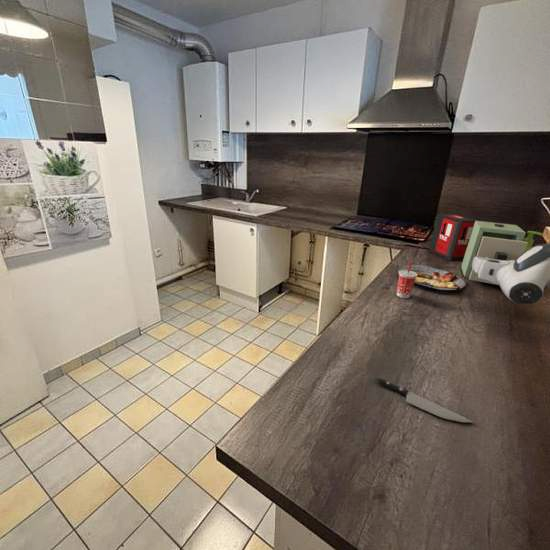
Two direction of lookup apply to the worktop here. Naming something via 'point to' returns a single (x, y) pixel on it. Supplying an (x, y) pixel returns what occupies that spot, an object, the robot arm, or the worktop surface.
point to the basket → (498, 252)
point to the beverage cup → (406, 282)
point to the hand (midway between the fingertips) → (503, 261)
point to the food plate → (436, 278)
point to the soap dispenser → (530, 239)
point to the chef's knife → (426, 404)
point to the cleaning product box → (451, 236)
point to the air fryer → (488, 231)
